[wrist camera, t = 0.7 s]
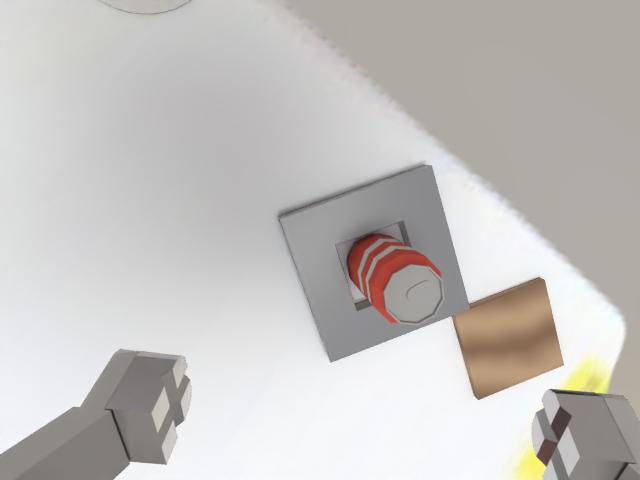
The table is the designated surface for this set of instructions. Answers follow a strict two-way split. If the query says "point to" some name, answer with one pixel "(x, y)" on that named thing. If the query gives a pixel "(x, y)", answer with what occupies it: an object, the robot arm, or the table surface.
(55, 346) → the table surface
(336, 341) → the dock
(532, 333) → the coaster pad
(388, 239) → the beverage can
